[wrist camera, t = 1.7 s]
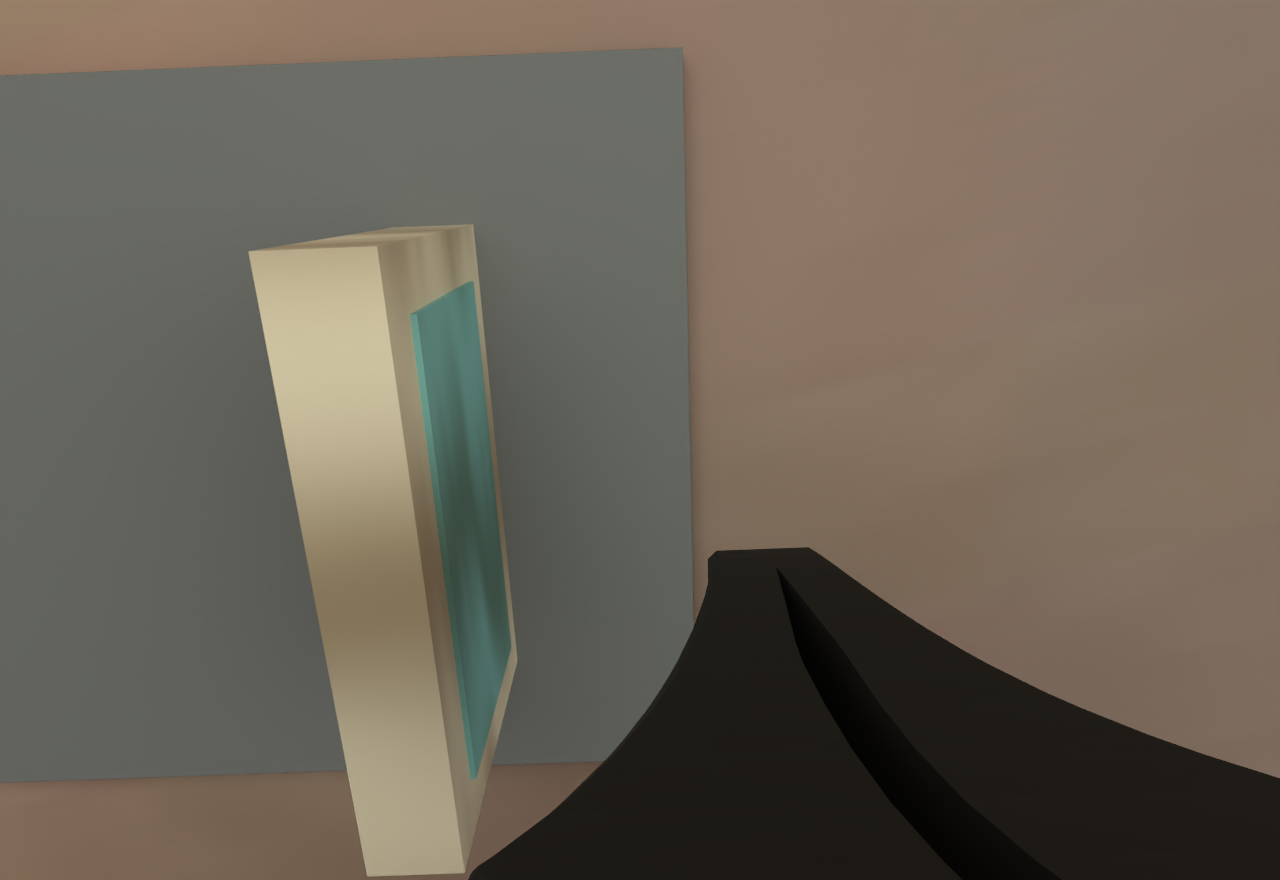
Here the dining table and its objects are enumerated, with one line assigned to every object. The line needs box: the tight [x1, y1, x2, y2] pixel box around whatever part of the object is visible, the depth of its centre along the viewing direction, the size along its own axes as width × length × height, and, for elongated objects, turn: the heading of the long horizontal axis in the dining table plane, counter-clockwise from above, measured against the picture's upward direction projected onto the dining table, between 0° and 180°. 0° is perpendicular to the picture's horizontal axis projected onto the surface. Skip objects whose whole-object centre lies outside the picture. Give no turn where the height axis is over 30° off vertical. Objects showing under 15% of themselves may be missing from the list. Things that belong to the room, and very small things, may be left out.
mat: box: [0, 47, 694, 783], centre depth 17 cm, size 16×18×1 cm
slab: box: [248, 224, 518, 876], centre depth 14 cm, size 10×2×6 cm, turn 2°
